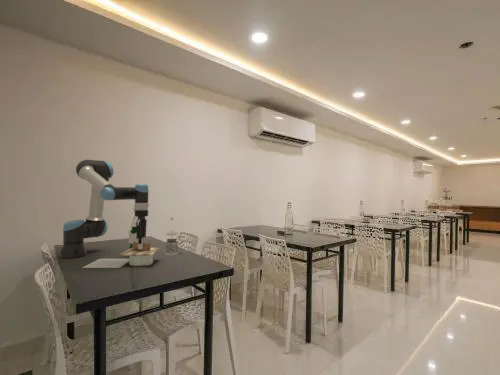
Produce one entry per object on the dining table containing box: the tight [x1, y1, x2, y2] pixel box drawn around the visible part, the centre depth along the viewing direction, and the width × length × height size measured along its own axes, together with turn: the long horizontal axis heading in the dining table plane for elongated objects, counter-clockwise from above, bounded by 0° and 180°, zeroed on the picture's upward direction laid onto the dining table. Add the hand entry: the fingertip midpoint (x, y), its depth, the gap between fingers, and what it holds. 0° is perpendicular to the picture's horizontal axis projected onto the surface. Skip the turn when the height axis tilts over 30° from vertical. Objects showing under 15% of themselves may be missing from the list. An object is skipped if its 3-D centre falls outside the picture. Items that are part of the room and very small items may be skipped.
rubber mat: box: [81, 258, 129, 269], centre depth 177 cm, size 21×21×1 cm
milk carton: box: [127, 226, 138, 249], centre depth 195 cm, size 9×9×20 cm
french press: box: [164, 217, 183, 256], centre depth 205 cm, size 10×12×25 cm
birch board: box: [119, 242, 161, 257], centre depth 178 cm, size 18×18×5 cm
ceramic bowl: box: [128, 254, 154, 267], centre depth 178 cm, size 13×13×6 cm
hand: (141, 248), depth 178 cm, fingers closed on birch board, 2 cm apart
